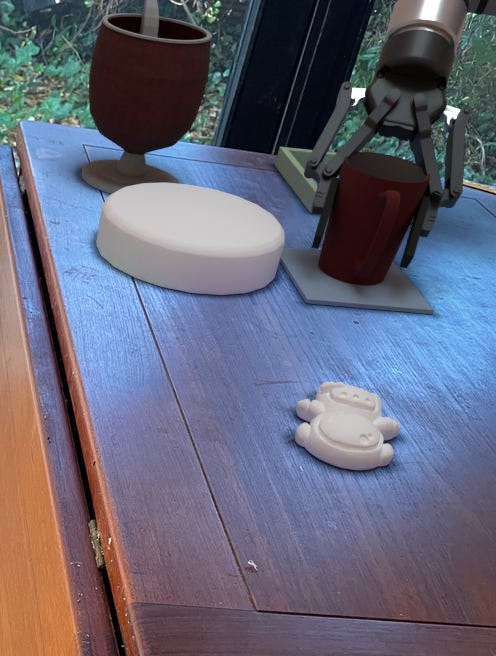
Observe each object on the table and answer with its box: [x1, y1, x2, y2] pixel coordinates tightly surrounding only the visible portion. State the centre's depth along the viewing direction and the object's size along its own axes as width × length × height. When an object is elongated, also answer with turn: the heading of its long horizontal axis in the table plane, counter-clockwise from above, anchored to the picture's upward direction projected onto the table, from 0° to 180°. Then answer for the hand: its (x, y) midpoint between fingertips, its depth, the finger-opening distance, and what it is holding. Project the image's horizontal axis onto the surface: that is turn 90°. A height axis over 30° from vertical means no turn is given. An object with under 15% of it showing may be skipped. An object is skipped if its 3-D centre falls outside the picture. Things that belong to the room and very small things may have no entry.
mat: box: [279, 247, 435, 315], centre depth 109 cm, size 14×14×1 cm
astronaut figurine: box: [294, 381, 401, 471], centre depth 83 cm, size 9×12×3 cm
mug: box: [318, 151, 431, 285], centre depth 105 cm, size 12×9×11 cm
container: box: [95, 183, 286, 296], centre depth 108 cm, size 20×20×5 cm
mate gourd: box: [81, 0, 213, 195], centre depth 120 cm, size 16×14×20 cm
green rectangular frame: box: [274, 146, 414, 224], centre depth 132 cm, size 15×18×2 cm
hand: (361, 251), depth 104 cm, fingers closed on mug, 9 cm apart
